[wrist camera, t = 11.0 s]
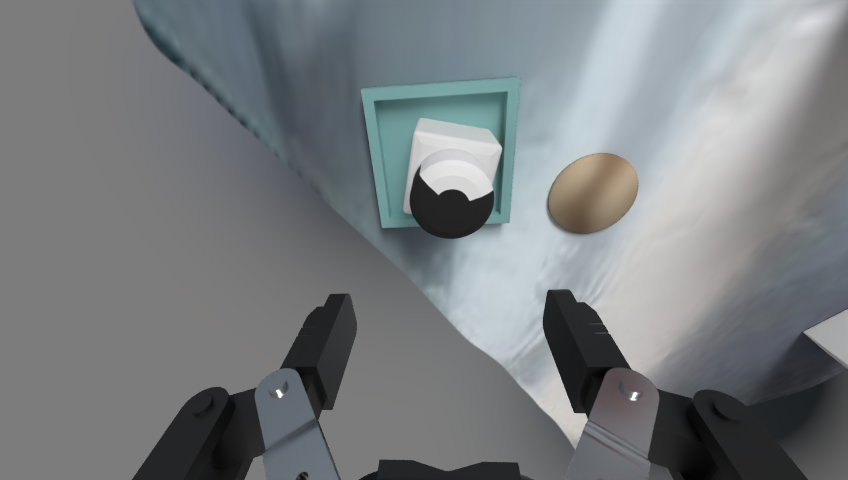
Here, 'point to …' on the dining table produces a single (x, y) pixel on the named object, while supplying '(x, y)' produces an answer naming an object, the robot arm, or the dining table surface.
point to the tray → (444, 101)
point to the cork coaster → (593, 193)
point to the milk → (832, 336)
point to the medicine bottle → (451, 177)
